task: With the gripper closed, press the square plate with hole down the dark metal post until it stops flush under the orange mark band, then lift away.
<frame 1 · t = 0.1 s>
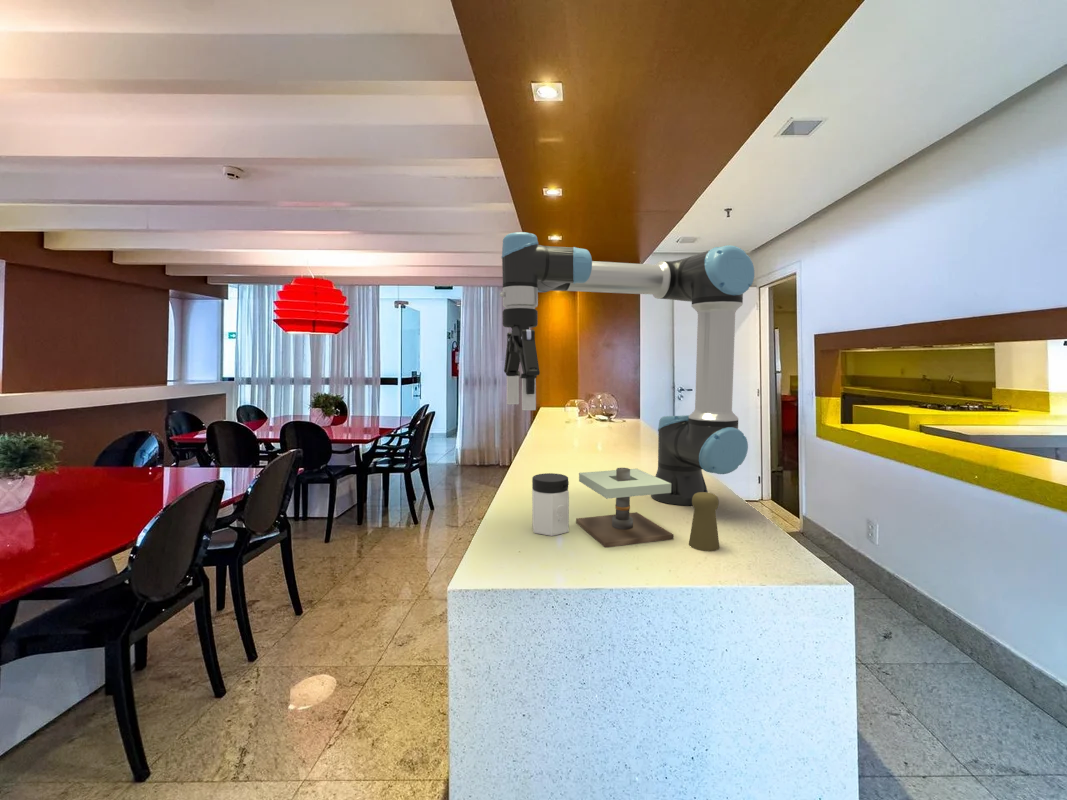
hand: (520, 407, 108), 28 cm above the countertop, fingers open, 13 cm apart
cork: (703, 546, 102), on the countertop
square plate with hole: (623, 482, 110), point 11 cm above the countertop, slide at 7.0 cm
jar: (550, 530, 112), on the countertop
post: (622, 530, 111), on the countertop
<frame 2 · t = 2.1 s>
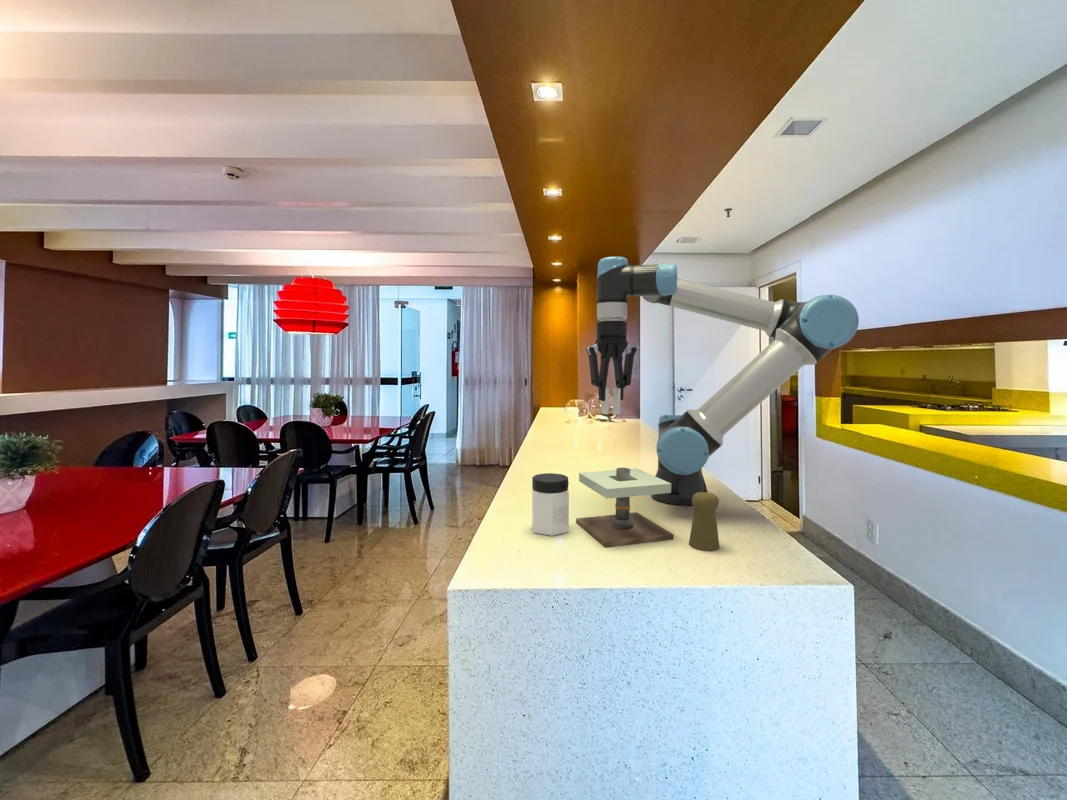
hand: (610, 413, 126), 25 cm above the countertop, fingers open, 3 cm apart
nothing on the countertop moved.
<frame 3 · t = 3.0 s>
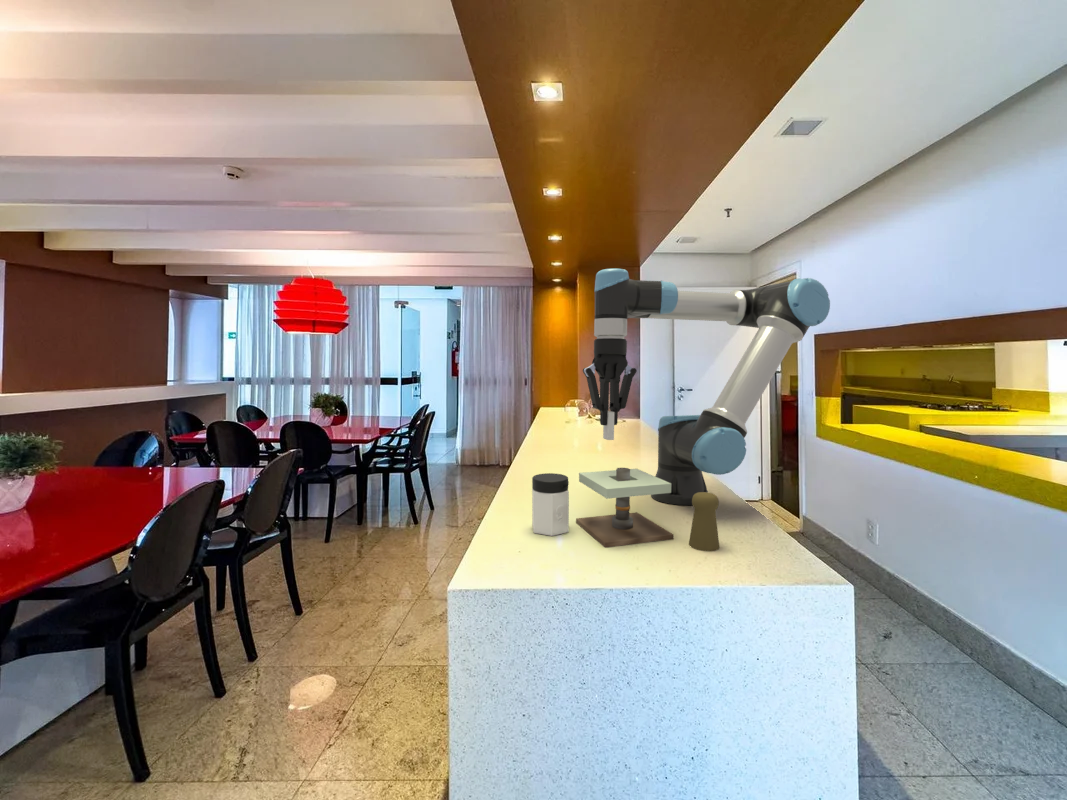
hand: (608, 438, 116), 20 cm above the countertop, fingers closed
nothing on the countertop moved.
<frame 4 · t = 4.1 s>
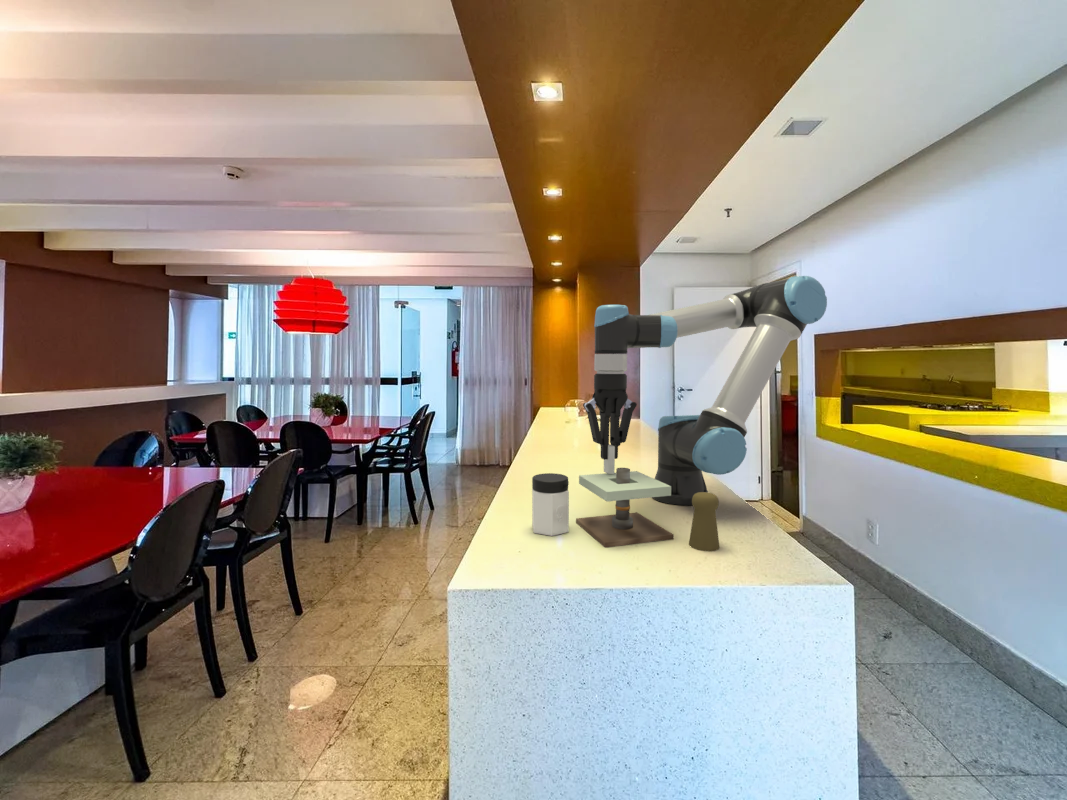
hand: (609, 472, 116), 12 cm above the countertop, fingers closed
square plate with hole: (623, 485, 110), point 10 cm above the countertop, slide at 6.4 cm, touching gripper
everything else where it was.
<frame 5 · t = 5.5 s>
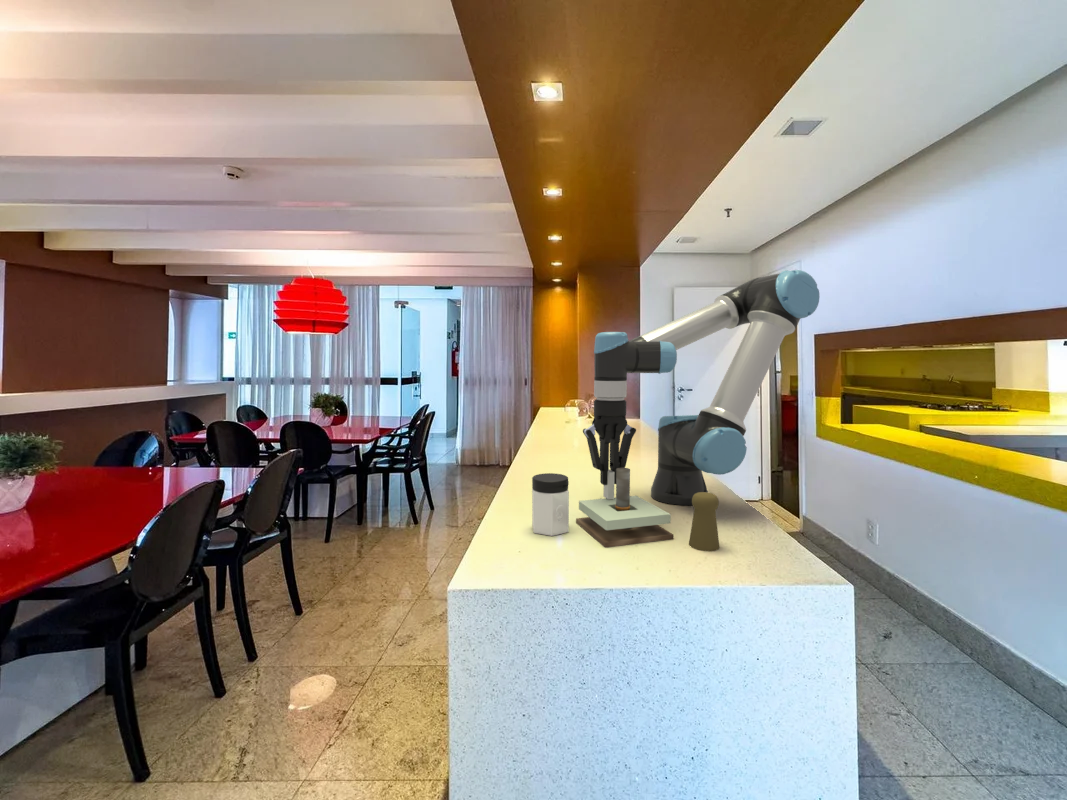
hand: (608, 497, 117), 6 cm above the countertop, fingers closed
square plate with hole: (622, 511, 110), point 4 cm above the countertop, slide at 0.3 cm, touching gripper
everything else where it was.
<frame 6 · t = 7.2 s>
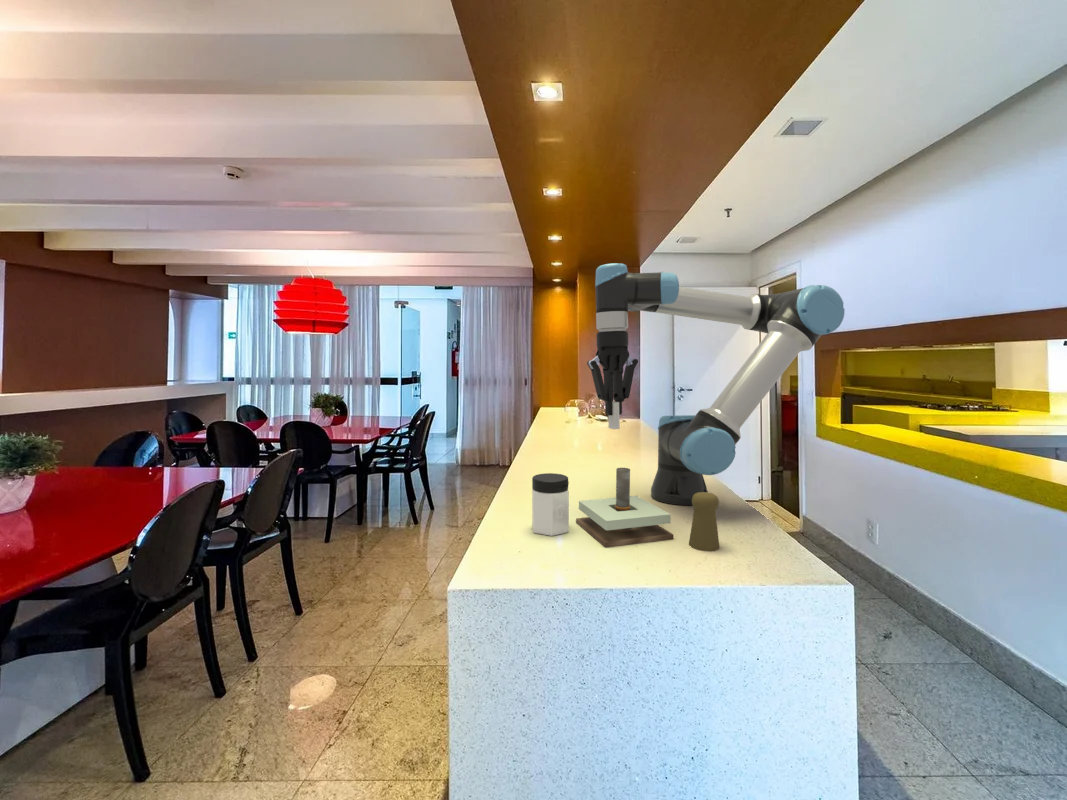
hand: (614, 428, 120), 22 cm above the countertop, fingers closed
square plate with hole: (622, 511, 110), point 4 cm above the countertop, slide at 0.3 cm
everything else where it was.
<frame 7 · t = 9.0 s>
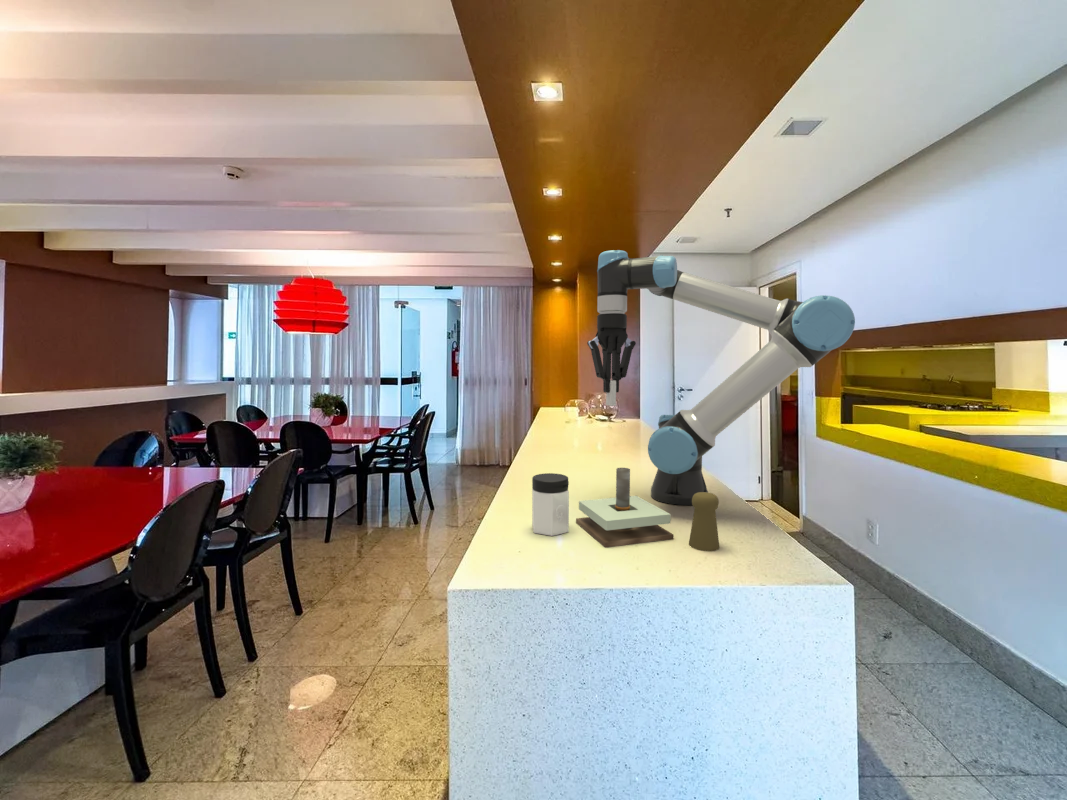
hand: (610, 405, 128), 26 cm above the countertop, fingers closed
nothing on the countertop moved.
at the end: square plate with hole slide at 0.3 cm; square plate with hole touching nothing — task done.
